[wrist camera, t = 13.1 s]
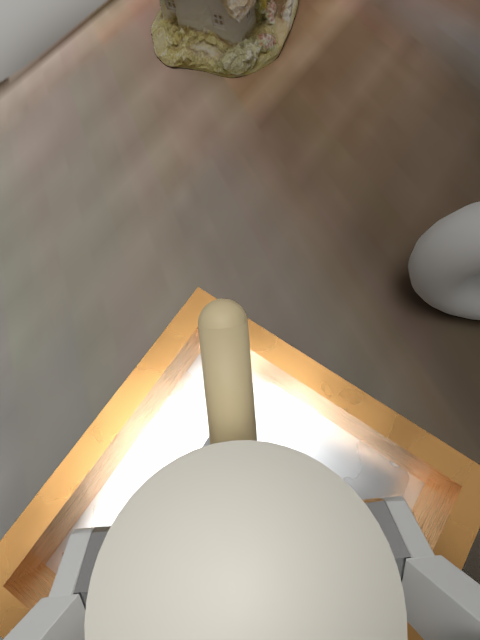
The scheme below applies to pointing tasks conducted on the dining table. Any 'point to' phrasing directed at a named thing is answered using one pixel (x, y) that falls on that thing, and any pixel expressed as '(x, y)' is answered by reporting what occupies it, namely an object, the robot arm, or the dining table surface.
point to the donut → (450, 264)
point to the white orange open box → (272, 426)
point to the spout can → (243, 533)
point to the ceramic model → (222, 34)
